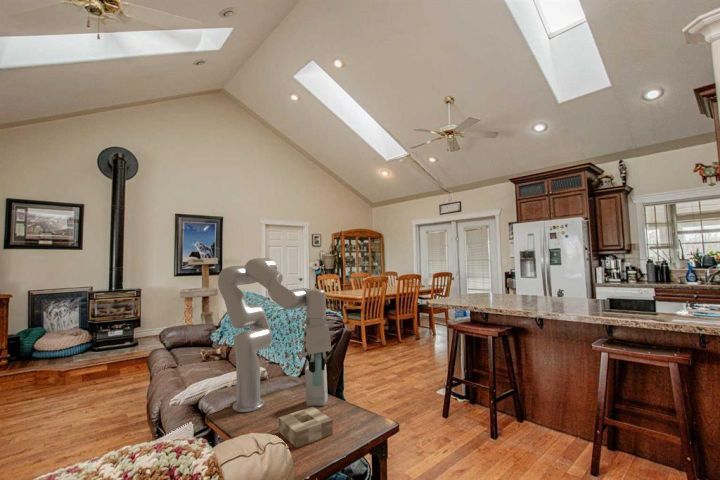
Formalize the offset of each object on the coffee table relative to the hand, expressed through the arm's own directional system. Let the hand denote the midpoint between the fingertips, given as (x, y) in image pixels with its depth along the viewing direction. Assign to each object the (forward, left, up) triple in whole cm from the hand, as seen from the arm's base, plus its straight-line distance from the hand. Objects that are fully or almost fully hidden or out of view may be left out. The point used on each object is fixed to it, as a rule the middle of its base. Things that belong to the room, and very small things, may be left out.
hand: (316, 370), depth 132 cm
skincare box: (-15, +8, -19) cm, 26 cm away
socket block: (+5, -8, -19) cm, 21 cm away
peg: (0, 0, -5) cm, 5 cm away
